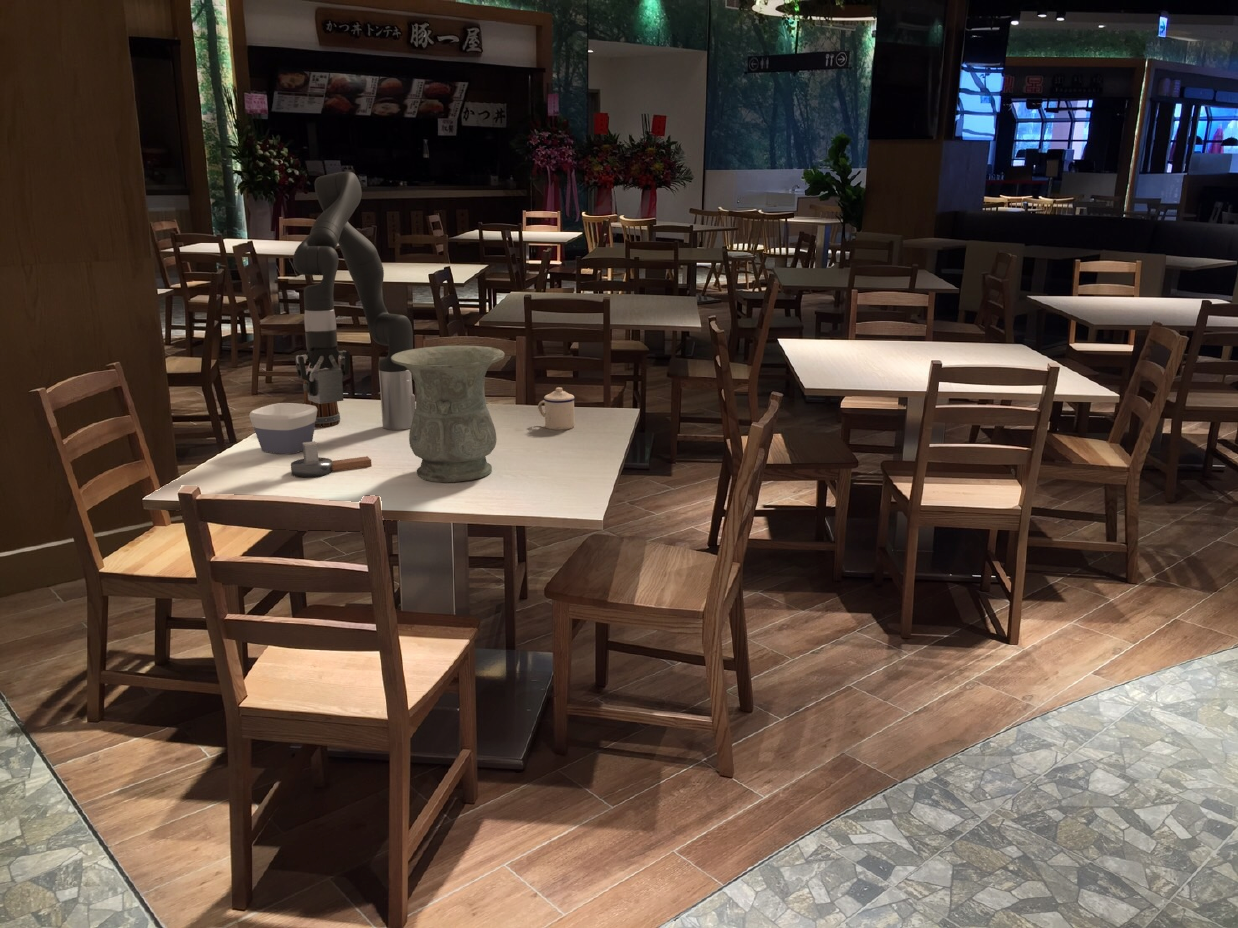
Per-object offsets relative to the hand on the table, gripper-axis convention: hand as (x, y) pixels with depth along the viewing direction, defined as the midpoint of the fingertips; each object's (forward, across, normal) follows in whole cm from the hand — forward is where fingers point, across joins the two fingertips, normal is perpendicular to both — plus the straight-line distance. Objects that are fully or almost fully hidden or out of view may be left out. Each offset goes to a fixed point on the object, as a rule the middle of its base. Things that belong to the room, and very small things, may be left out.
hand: (325, 393), depth 259 cm
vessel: (+18, -19, +29) cm, 39 cm away
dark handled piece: (+19, +2, +5) cm, 19 cm away
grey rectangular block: (+2, 0, 0) cm, 2 cm away
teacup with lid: (+17, -69, +7) cm, 71 cm away
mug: (+18, -21, -45) cm, 53 cm away
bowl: (+19, +1, -23) cm, 29 cm away
